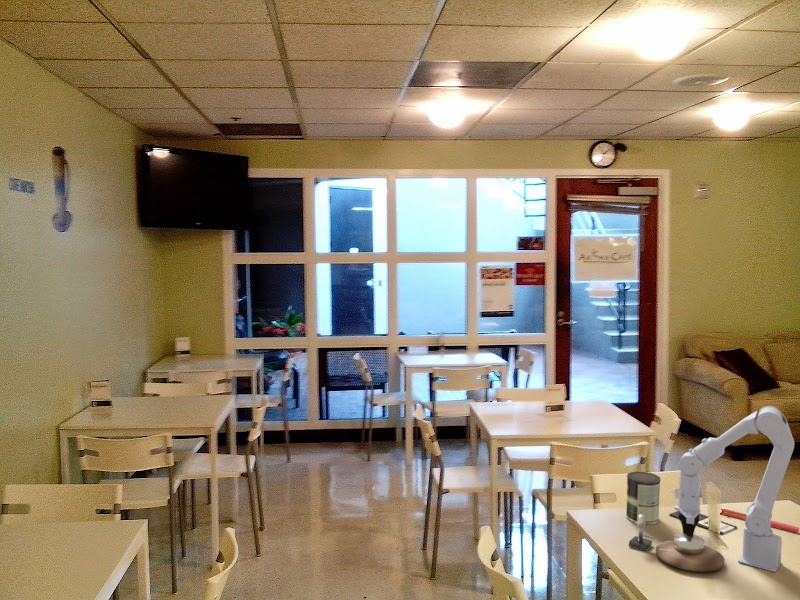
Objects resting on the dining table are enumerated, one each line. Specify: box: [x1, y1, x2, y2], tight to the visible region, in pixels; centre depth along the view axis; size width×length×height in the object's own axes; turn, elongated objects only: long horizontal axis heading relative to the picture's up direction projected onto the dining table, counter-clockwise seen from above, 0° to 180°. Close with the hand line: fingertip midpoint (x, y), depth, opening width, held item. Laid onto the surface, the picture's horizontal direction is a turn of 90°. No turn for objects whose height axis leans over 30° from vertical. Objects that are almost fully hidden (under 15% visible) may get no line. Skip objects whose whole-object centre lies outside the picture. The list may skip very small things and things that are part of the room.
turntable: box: [655, 539, 726, 573], centre depth 192 cm, size 18×18×1 cm
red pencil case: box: [721, 508, 800, 534], centre depth 219 cm, size 24×2×5 cm
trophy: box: [628, 514, 655, 552], centre depth 200 cm, size 6×5×10 cm
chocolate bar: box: [669, 510, 738, 536], centre depth 219 cm, size 9×1×18 cm
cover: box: [673, 532, 705, 555], centre depth 195 cm, size 8×8×3 cm
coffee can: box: [625, 471, 662, 525], centre depth 221 cm, size 10×10×14 cm
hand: (687, 538), depth 200 cm, fingers closed
